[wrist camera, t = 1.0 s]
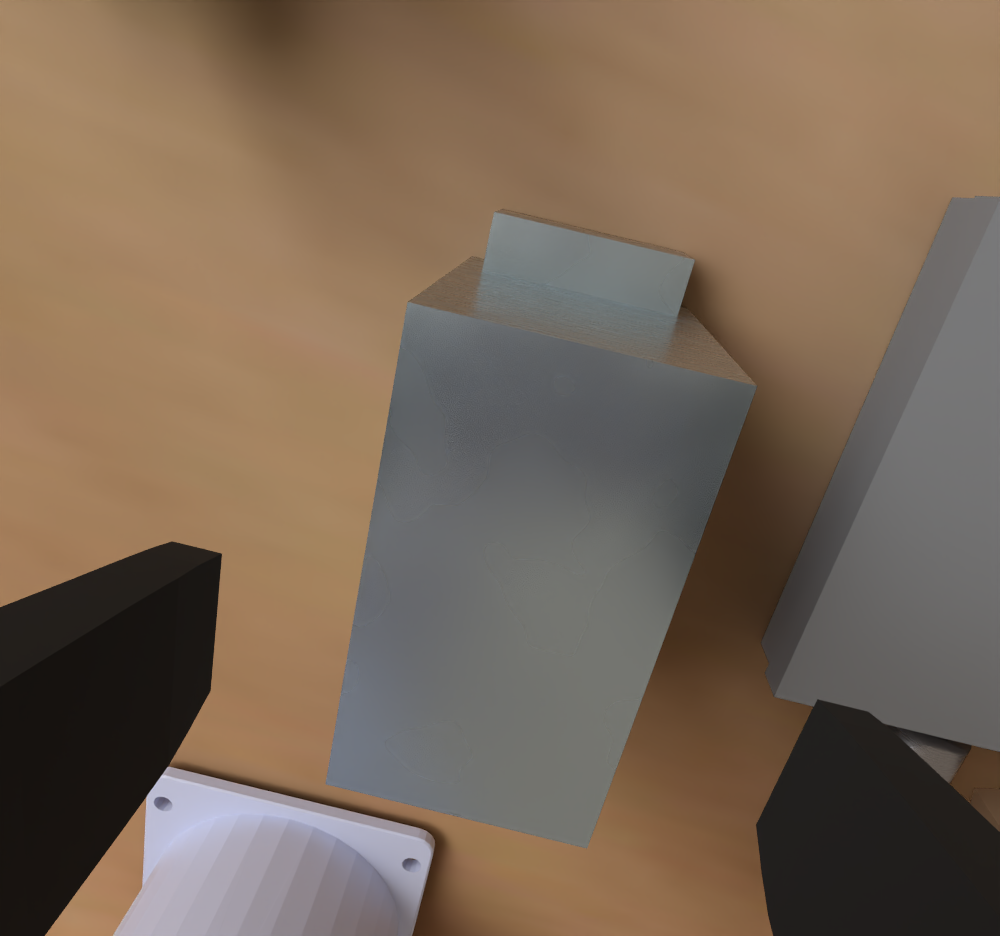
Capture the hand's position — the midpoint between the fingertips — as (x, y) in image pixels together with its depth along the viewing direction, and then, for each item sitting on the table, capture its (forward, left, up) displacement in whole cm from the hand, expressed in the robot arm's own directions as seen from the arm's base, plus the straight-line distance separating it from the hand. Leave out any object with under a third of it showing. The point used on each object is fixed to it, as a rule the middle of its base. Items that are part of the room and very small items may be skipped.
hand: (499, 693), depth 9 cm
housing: (0, 0, -8) cm, 8 cm away
